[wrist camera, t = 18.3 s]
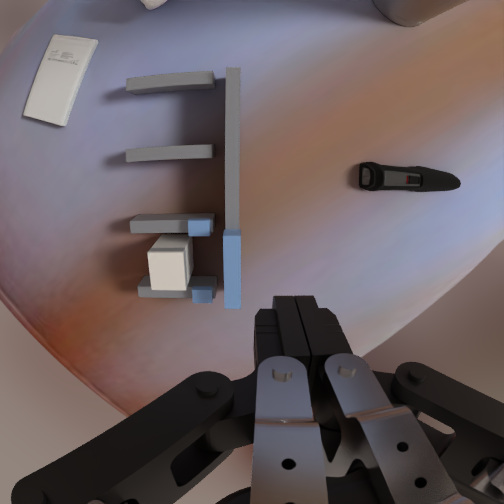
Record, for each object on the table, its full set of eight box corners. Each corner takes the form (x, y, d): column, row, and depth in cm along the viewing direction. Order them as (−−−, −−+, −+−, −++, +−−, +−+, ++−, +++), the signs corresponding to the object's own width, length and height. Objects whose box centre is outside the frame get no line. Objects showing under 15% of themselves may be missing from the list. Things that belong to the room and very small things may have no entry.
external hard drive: (28, 115, 33) (57, 36, 29) (68, 126, 34) (100, 42, 31) (21, 115, 31) (52, 33, 28) (62, 126, 33) (95, 39, 29)
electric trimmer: (448, 194, 39) (460, 198, 36) (357, 189, 39) (367, 193, 36) (449, 169, 38) (462, 171, 35) (358, 160, 37) (368, 162, 34)
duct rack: (135, 83, 33) (114, 72, 26) (241, 77, 33) (242, 61, 26) (145, 286, 42) (130, 313, 35) (240, 287, 42) (240, 315, 35)
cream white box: (161, 234, 39) (147, 252, 33) (192, 234, 40) (182, 252, 33) (164, 266, 41) (151, 289, 34) (193, 266, 41) (185, 290, 34)
